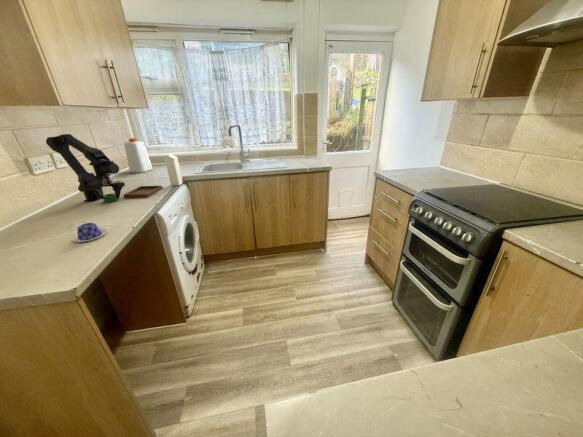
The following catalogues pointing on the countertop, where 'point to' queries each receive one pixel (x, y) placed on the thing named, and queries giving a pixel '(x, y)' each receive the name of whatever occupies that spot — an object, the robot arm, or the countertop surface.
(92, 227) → the checkered hat
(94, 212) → the countertop surface
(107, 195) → the ring
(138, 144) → the plastic bottle
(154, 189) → the tray
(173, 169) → the milk
